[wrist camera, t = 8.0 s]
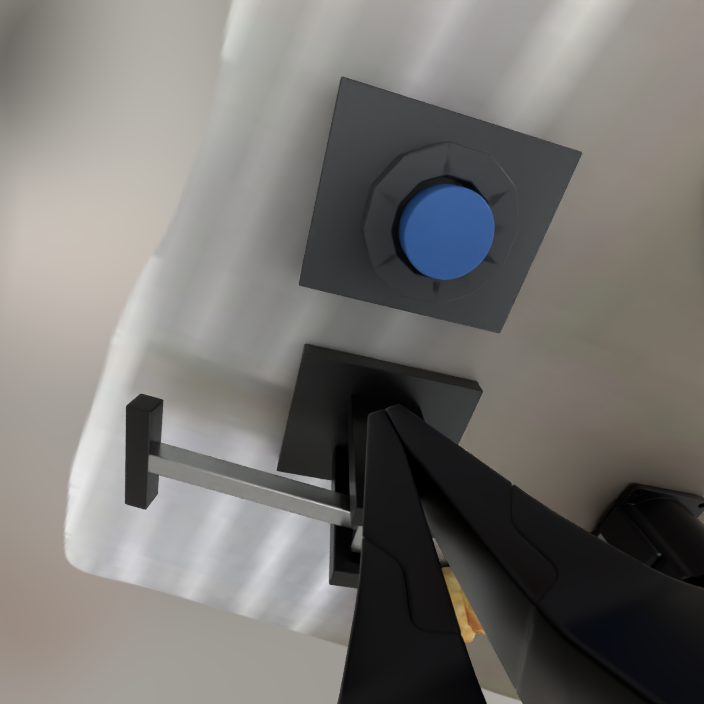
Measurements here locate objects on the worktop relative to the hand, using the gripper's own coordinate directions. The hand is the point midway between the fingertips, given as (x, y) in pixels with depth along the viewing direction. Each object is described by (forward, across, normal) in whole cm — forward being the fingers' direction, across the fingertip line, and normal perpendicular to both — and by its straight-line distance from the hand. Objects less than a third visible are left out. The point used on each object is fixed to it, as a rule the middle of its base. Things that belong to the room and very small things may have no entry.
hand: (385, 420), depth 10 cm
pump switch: (+12, -6, 0) cm, 14 cm away
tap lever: (+7, +4, +9) cm, 12 cm away
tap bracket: (+11, -1, +12) cm, 17 cm away
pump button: (+9, -6, -1) cm, 11 cm away
